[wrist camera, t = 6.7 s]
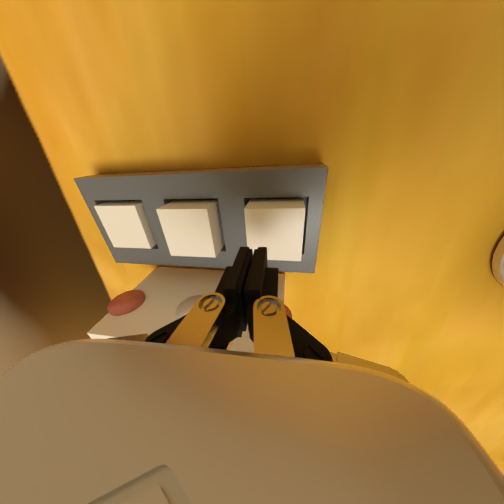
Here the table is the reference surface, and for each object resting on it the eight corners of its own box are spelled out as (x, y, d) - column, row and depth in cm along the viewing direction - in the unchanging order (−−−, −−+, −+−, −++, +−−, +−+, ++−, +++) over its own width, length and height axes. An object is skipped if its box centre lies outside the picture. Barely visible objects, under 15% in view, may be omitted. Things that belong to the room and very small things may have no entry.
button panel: (322, 163, 17) (362, 190, 7) (308, 281, 24) (320, 373, 14) (99, 174, 21) (-51, 199, 12) (141, 271, 28) (67, 336, 19)
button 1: (303, 198, 17) (305, 208, 14) (299, 245, 19) (301, 261, 17) (250, 199, 18) (244, 208, 15) (253, 244, 20) (248, 259, 17)
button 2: (153, 197, 21) (134, 205, 18) (166, 236, 23) (150, 248, 21) (116, 198, 22) (93, 205, 19) (132, 236, 24) (113, 247, 21)
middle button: (218, 199, 18) (206, 208, 16) (225, 243, 21) (215, 257, 18) (173, 200, 19) (155, 209, 17) (185, 242, 21) (171, 255, 19)
